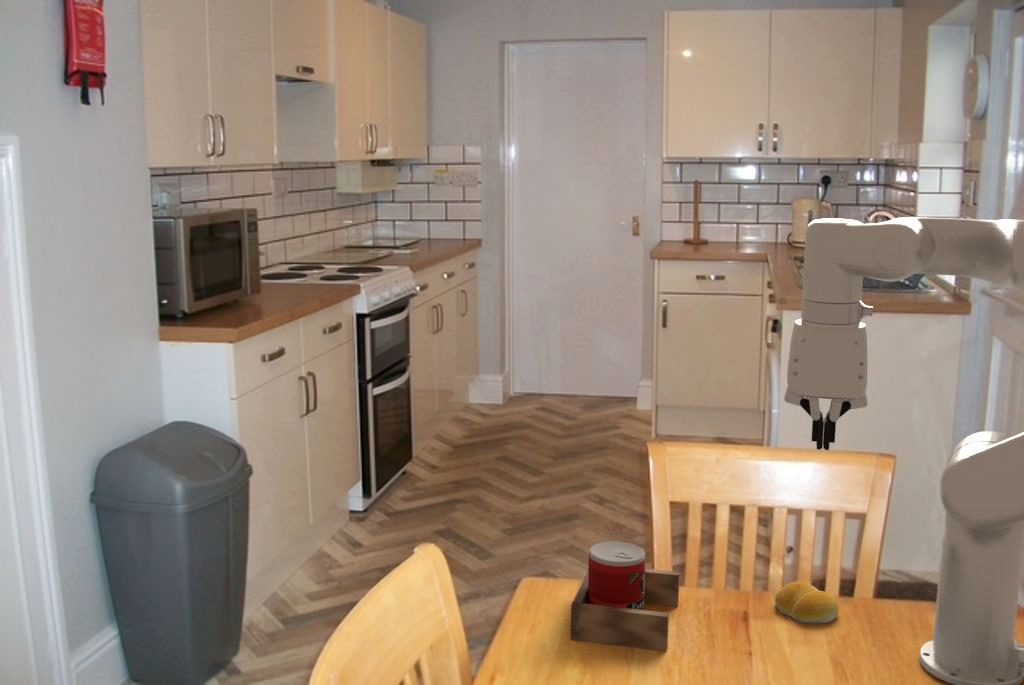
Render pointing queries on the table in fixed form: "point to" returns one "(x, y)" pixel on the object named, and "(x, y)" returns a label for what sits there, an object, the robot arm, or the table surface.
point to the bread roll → (806, 603)
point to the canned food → (616, 575)
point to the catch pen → (627, 615)
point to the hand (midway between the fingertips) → (822, 446)
